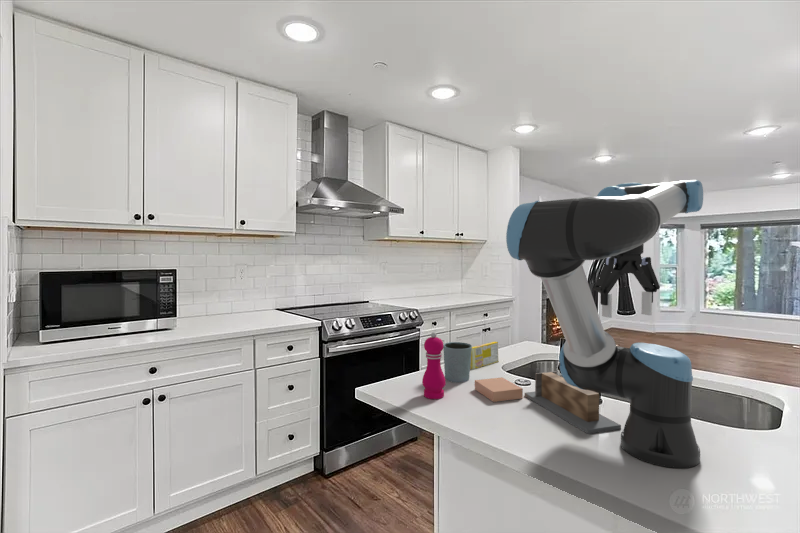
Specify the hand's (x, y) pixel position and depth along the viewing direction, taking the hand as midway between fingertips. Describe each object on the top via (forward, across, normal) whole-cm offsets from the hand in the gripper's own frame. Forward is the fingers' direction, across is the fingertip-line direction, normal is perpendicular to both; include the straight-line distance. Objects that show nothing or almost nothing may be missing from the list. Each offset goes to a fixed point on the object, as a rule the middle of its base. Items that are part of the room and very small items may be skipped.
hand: (626, 315), depth 117 cm
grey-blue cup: (+27, +34, -40) cm, 59 cm away
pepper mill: (+27, +48, -26) cm, 61 cm away
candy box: (+27, +17, -53) cm, 62 cm away
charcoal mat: (+27, +16, -4) cm, 31 cm away
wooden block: (+26, +16, -4) cm, 31 cm away
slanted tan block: (+25, +28, -16) cm, 41 cm away
